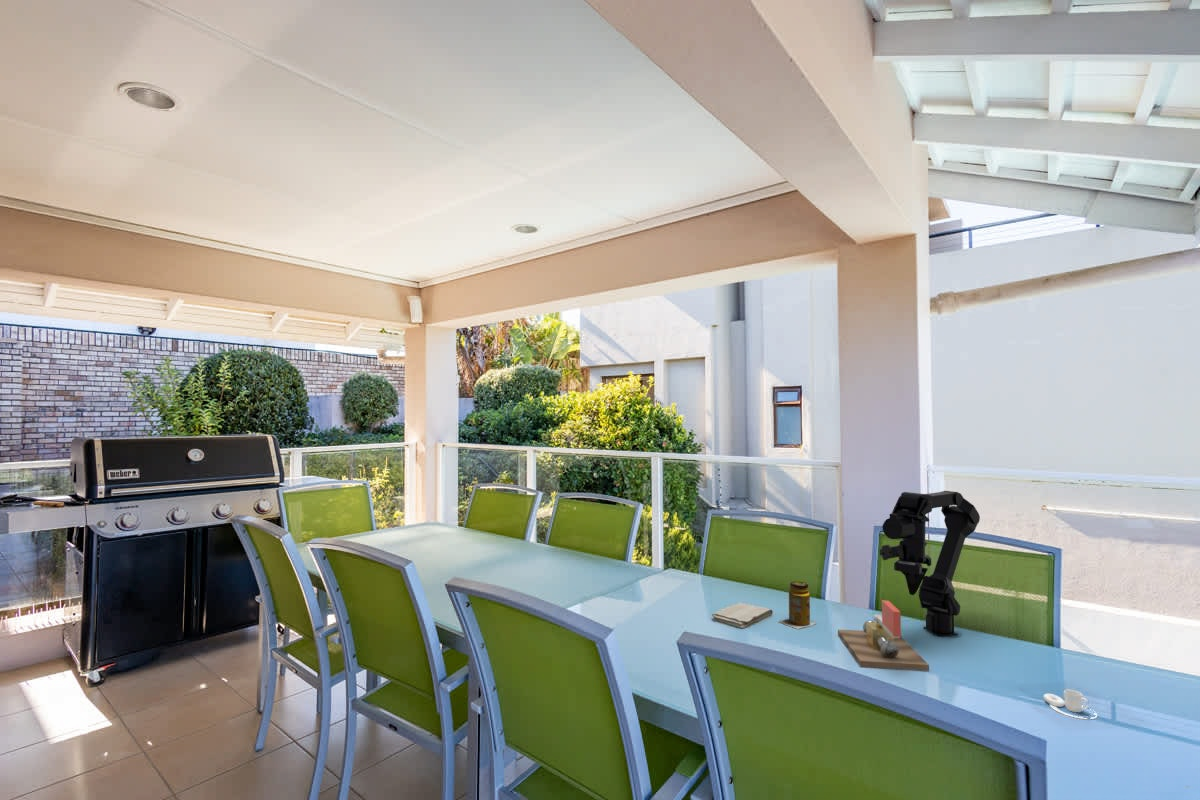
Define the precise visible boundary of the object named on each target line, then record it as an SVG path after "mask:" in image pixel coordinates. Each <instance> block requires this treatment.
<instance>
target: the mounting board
mask: <svg viewBox="0 0 1200 800" xmlns="http://www.w3.org/2000/svg"><path fill="white" fill-rule="evenodd" d="M837 635H838V637H839V638H840V640H841V641H842V643H843V644H844V645H845V647H846V648H847V650H848V651H849V652H850V654H851V655H852V657H853V658H854V660H855V661H856V662H857V664H858V666H859V665H860V666H859V667H860V668H869V667H870V669H871V668H873V669H887V670H892V669H893V670H904V671H905V670H906V671H907V670H908V671H920V672H922V671H923V672H930V664H929V663H928V662H927V661H926V660H925V659H924V658H923V657H922V656H921V655H920V654H919V653H918V652H917V651H916V650H915V648H913V647H912V646H911V645H910V644H909V642H907V641H906V640H905V639H904V638H903V637H902V636H901V637H900V638H894V643H895V644H896V645H897V647H898V649H899V652H898V654H897V656H896V657H894V658H888V657H886V656H885V655H884V654H882V653H881V652H880V651H879V650H875V649H872V648H871V646H870V645H869V644H868V643H867V641H866V633H865V632H864V630H857V629H856V630H855V629H852V630H851V629H837Z"/></svg>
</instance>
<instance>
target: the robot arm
mask: <svg viewBox="0 0 1200 800" xmlns="http://www.w3.org/2000/svg"><path fill="white" fill-rule="evenodd" d="M937 508H941V509H940V511H941V514H943V516H944V521H943V522H944V524H945V527H946V530H947V531H946V534H945V536H944V540H943V542H942V545H941V548H940V552H939V555H938V557H937V561H936V563H935V567H934V570H933V572H932V574H931V575H929V576H928V575H926V574H927V571H928V570H929V569H928V568H927V567H931V566H932V558H931V556H930V555H929V554H926V547H927V545H928V544H927V543H928V542H927V541H926V522H927V523H928V522H930V518H929V517H928V516H926V515H927V514H930V513H931V512H933V509H937ZM980 520H981V516H980V514H979V512H978V510H977V508H976V507H975V505H974V504H972V503H971V502H970V501H968V500H967V499H965V498H964V496H963V495H962V493H960V492H958V491H953V490H951V491H950V490H942V491H937V492H930V493H929V492H928V493H917V492H912V491H911V492H910V491H909V492H908V491H903V492H901V493H900V495H899V497H898V499H897V501H896V503H895V505H894V507H893V509H892V511H891V513H889V518H887V519H885V520H884V522H883V524H882V527H881V528H882V531H883V533H884V535H885V536H886V537H887V539H890V540H900V541H899V543H898V544H896V545H890V544H889V543H888V544H884V545H881V548H879V556H881V558H882V560H883V561H888V560H890V559H895V558H898V560H896V561H895V562H894V564H893V570H894V571H896V572H900V573H901V574H903V575H904V577H905V580H906V585H907V588H908V594H909V595H911V596H915V594H917V591H918V590H919V591H918V598H919V602H920V605H921V609H926V614H925V626H923V629H924V630H925V631H927V632H929V633H931V634H933V635H934V636H937V637H950V636H951V637H952V636H959V633H958V632H956V631H955V617H957V616H958V615H959V614H960V612H961V611H960V610H961V605H960V603H959V602H958V600H957V599H956V598H955V594H956V591H955V587H954V585H953V582H952V581H953V578H954V574H955V573H956V569H957V565H958V562H959V560H960V557H961V553H962V549H963V547H964V544H965V542H966V541H965V540H966V538H967V537H968V536H970V535H971V534H972V533H973V532H975V531H976V528H977V526H978V524H979V523H980ZM923 565H927V567H923Z"/></svg>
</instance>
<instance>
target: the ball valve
mask: <svg viewBox="0 0 1200 800" xmlns="http://www.w3.org/2000/svg"><path fill="white" fill-rule="evenodd" d="M862 629H863V630H862V631H864V632H865V633H866V641H867V643H868V644H869V645H870V646H871V648H872V649H875V650H879V651H880V652H881V653H882V654H884V655H885V656H886V657H888V658H894V657H896V656H897V654H898V652H899V649H898V647H897V645H896V644H895V643H894V638H892V637H891V636H890V634H889V633H888V632H887V631H886V630H885V629H884V628H883V627H882V626H881V624H880V623H879V622H877V621H874V620H867V621H865V622H864V623H863V625H862Z"/></svg>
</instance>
